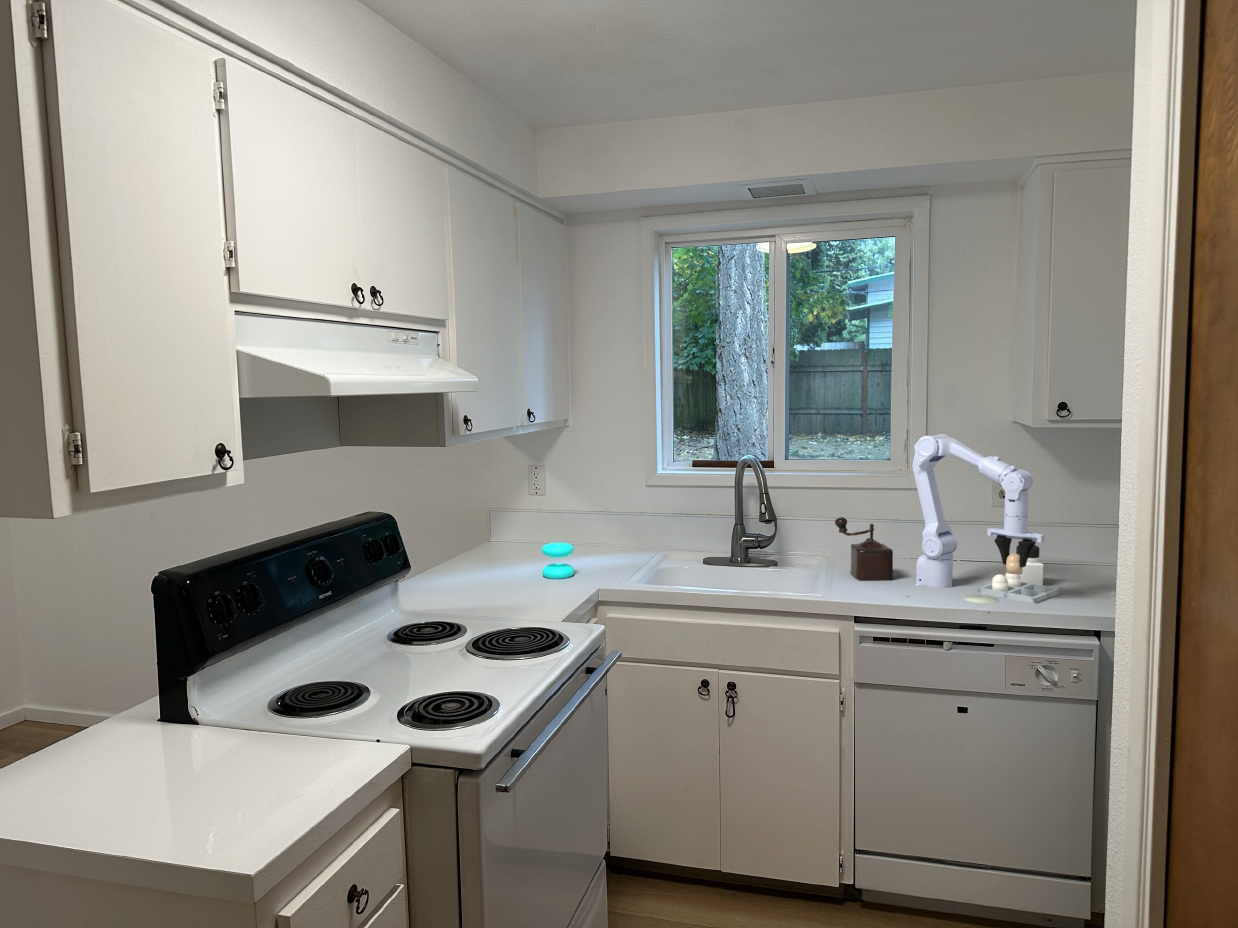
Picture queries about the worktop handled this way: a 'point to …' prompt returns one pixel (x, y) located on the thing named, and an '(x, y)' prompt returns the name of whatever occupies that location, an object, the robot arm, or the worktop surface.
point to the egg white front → (1000, 583)
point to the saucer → (980, 599)
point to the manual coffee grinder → (868, 556)
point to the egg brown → (1013, 564)
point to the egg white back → (1013, 579)
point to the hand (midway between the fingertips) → (1014, 565)
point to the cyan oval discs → (557, 568)
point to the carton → (1023, 592)
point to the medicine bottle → (1032, 567)
